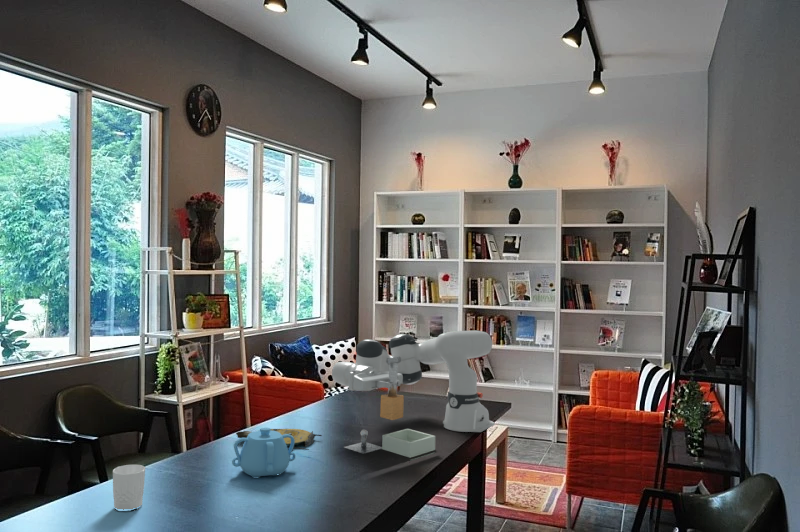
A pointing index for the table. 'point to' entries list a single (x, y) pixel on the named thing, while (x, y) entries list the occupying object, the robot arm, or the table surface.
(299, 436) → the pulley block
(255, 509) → the table surface
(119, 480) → the white cup
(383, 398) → the strut
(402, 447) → the bin
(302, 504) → the table surface
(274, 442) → the decorative pot
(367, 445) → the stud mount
